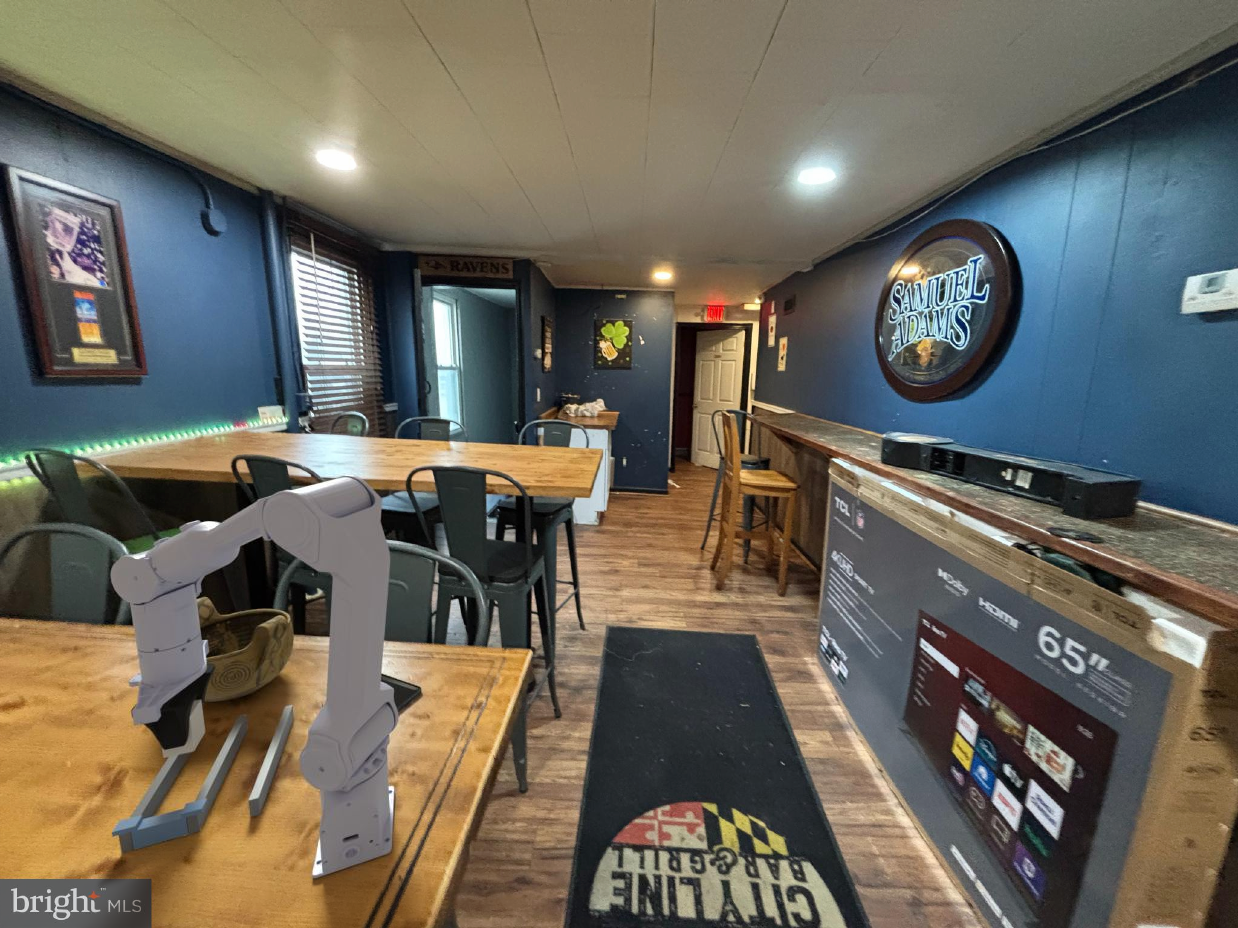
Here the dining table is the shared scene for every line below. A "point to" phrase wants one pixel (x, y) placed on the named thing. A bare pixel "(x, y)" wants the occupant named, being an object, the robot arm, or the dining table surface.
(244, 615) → the ceramic bowl
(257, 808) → the metal rails
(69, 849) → the dining table surface
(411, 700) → the black tray
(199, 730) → the cream rectangular box
